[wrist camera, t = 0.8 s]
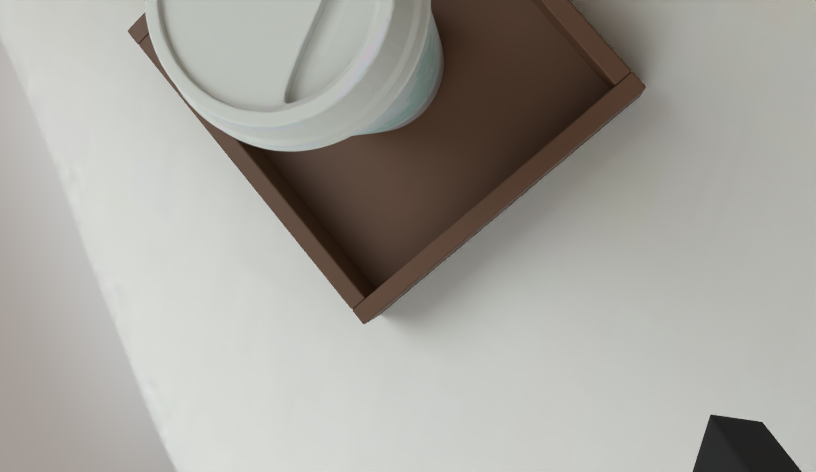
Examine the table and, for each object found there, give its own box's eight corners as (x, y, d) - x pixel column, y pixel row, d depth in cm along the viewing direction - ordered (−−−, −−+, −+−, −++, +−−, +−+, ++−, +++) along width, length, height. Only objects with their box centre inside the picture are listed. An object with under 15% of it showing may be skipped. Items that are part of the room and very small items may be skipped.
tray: (640, 95, 30) (646, 86, 27) (379, 315, 33) (363, 325, 30) (385, -193, 31) (368, -225, 29) (158, 42, 34) (126, 30, 32)
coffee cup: (347, 199, 32) (218, 204, 21) (253, 36, 33) (75, -49, 21) (514, 95, 30) (477, 35, 19) (412, -77, 31) (313, -239, 19)
